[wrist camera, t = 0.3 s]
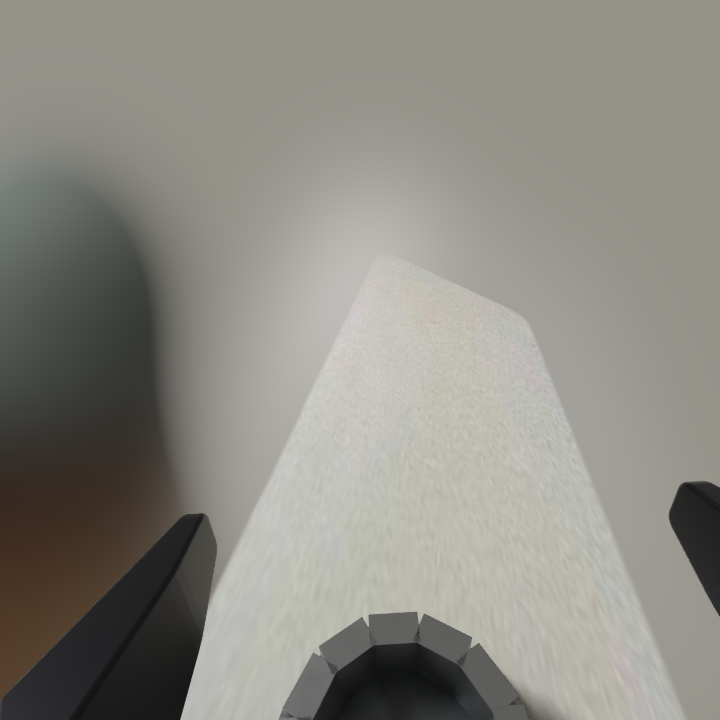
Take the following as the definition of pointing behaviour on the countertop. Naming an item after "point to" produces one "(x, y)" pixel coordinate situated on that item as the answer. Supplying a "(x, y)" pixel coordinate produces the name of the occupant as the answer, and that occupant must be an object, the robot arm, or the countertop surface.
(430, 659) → the grey segmented ring
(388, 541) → the countertop surface
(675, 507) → the robot arm
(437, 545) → the countertop surface
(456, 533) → the countertop surface
